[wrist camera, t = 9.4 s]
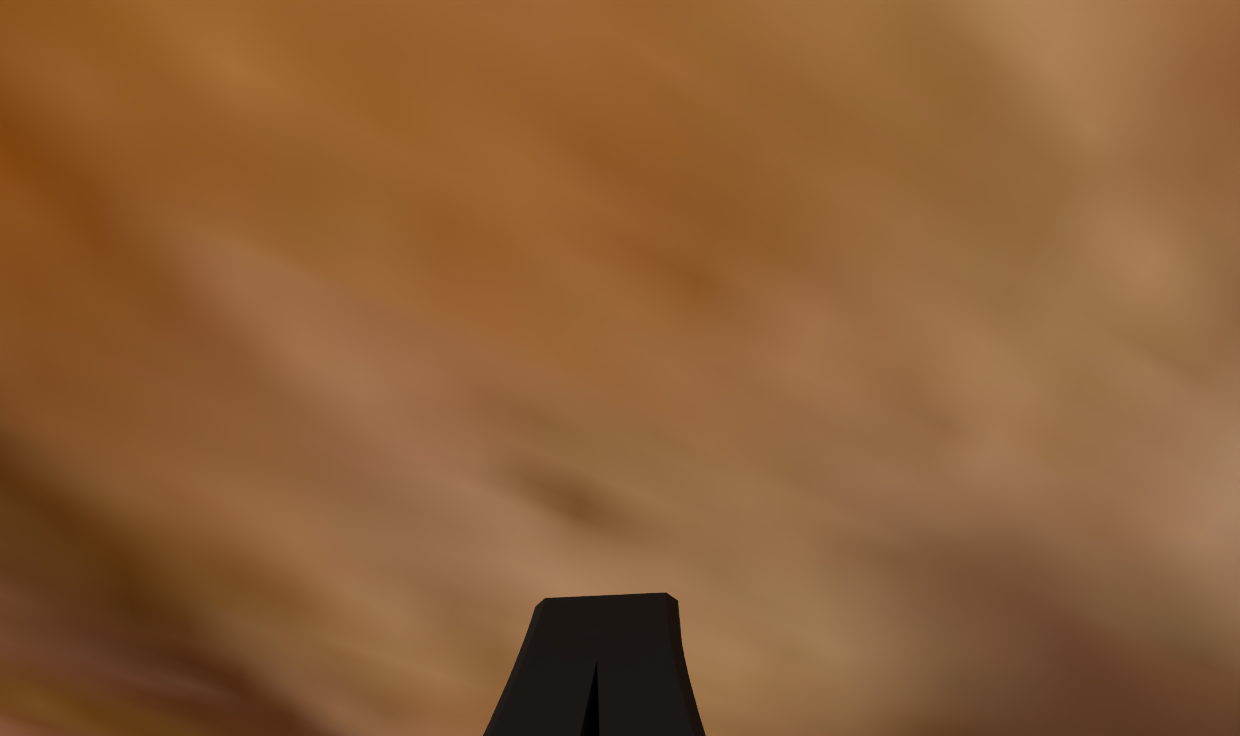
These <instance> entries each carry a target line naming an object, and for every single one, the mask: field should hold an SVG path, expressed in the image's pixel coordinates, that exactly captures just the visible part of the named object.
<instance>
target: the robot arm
mask: <svg viewBox="0 0 1240 736" xmlns="http://www.w3.org/2000/svg"><path fill="white" fill-rule="evenodd" d="M483 736H706V735H705V732H704V729H703V726H702V722H701V719H700V716H699V713H698V709H697V705H696V701H695V698H694V694H693V690H692V687H691V683H690V679H689V675H688V671H687V666H686V662H685V657H684V652H683V647H682V639H681V628H680V618H679V608H678V600H676V599H675V598H673V597H672V596H670V595H669V594H667V593H646V594H624V595H603V596H581V597H560V598H545V599H544V600H543V601H541V602H540V603H539V604H538V605H537V606H536V607H535V610H534V613H533V616H532V619H531V622H530V625H529V628H528V631H527V634H526V636H525V639H524V642H523V644H522V647H521V649H520V652H519V655H518V657H517V660H516V662H515V665H514V667H513V670H512V672H511V674H510V677H509V679H508V682H507V684H506V686H505V688H504V691H503V693H502V695H501V698H500V700H499V702H498V704H497V707H496V709H495V711H494V713H493V716H492V718H491V720H490V722H489V724H488V726H487V728H486V730H485V733H484V735H483Z"/></svg>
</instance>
